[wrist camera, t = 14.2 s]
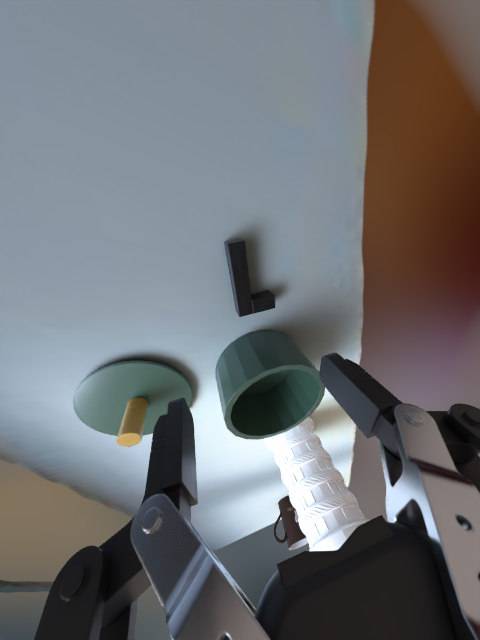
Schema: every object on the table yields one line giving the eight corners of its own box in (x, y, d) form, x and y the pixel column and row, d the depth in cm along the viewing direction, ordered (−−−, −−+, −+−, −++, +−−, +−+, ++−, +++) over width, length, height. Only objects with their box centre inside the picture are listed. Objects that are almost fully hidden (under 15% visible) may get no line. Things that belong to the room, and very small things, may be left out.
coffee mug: (302, 493, 66) (320, 534, 57) (285, 506, 68) (300, 548, 59) (281, 492, 60) (298, 537, 51) (264, 506, 62) (276, 552, 53)
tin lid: (50, 377, 22) (10, 426, 17) (174, 344, 25) (171, 378, 19) (111, 440, 30) (96, 487, 25) (201, 411, 32) (205, 448, 27)
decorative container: (268, 452, 45) (311, 573, 30) (259, 427, 39) (308, 563, 24) (312, 432, 46) (375, 540, 31) (310, 405, 40) (388, 523, 25)
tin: (206, 344, 26) (213, 387, 19) (296, 319, 28) (330, 350, 21) (224, 405, 33) (234, 451, 26) (295, 382, 35) (320, 419, 28)
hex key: (223, 241, 20) (227, 243, 19) (265, 233, 21) (271, 235, 19) (236, 310, 24) (239, 317, 23) (269, 302, 25) (275, 308, 24)
